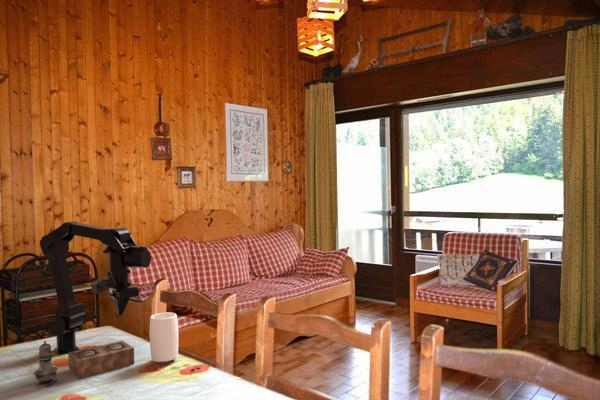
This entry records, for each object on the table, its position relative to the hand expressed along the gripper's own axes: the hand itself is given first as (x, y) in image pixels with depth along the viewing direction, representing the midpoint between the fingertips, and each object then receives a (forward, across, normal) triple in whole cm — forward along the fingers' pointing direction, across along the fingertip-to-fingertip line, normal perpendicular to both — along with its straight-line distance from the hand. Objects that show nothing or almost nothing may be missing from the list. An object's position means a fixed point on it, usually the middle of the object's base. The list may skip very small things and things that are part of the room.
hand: (120, 315), depth 148 cm
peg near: (+12, +6, -12) cm, 18 cm away
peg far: (+12, +6, -4) cm, 14 cm away
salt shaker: (+13, +8, -24) cm, 28 cm away
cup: (+13, +15, +8) cm, 22 cm away
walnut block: (+13, +6, -8) cm, 16 cm away
